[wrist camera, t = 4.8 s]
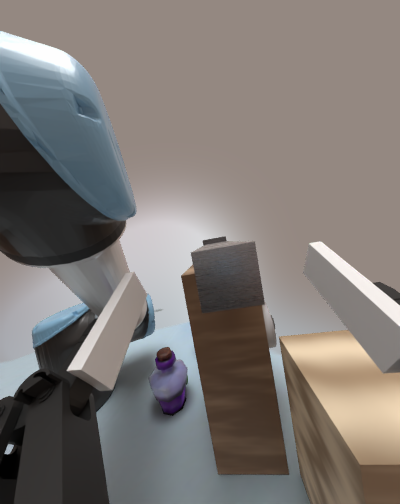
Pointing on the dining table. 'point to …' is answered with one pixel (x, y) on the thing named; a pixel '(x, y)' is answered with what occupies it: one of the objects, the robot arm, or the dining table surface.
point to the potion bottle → (169, 381)
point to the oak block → (343, 419)
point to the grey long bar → (227, 275)
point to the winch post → (238, 385)
